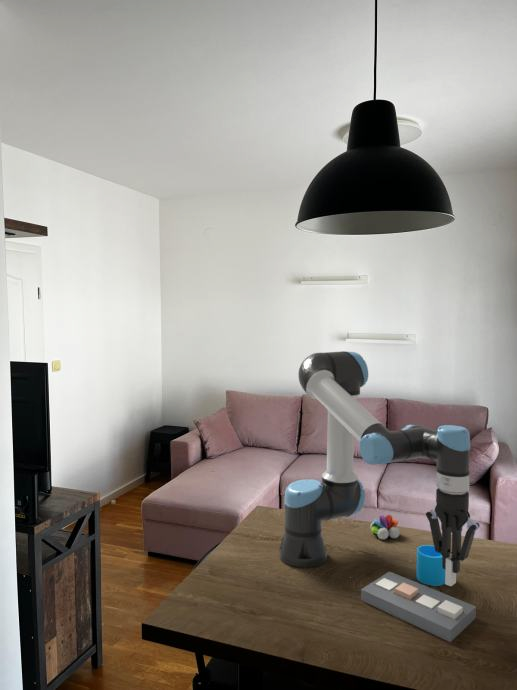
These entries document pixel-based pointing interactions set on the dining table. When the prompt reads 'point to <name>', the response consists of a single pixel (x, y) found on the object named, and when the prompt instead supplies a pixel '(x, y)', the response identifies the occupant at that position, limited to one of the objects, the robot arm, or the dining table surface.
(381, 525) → the multicoloured ball cluster
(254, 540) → the dining table surface
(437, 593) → the keypad
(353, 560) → the dining table surface
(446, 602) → the key
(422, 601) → the key
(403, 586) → the key
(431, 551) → the mug
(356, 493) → the robot arm
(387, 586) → the key
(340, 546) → the dining table surface
